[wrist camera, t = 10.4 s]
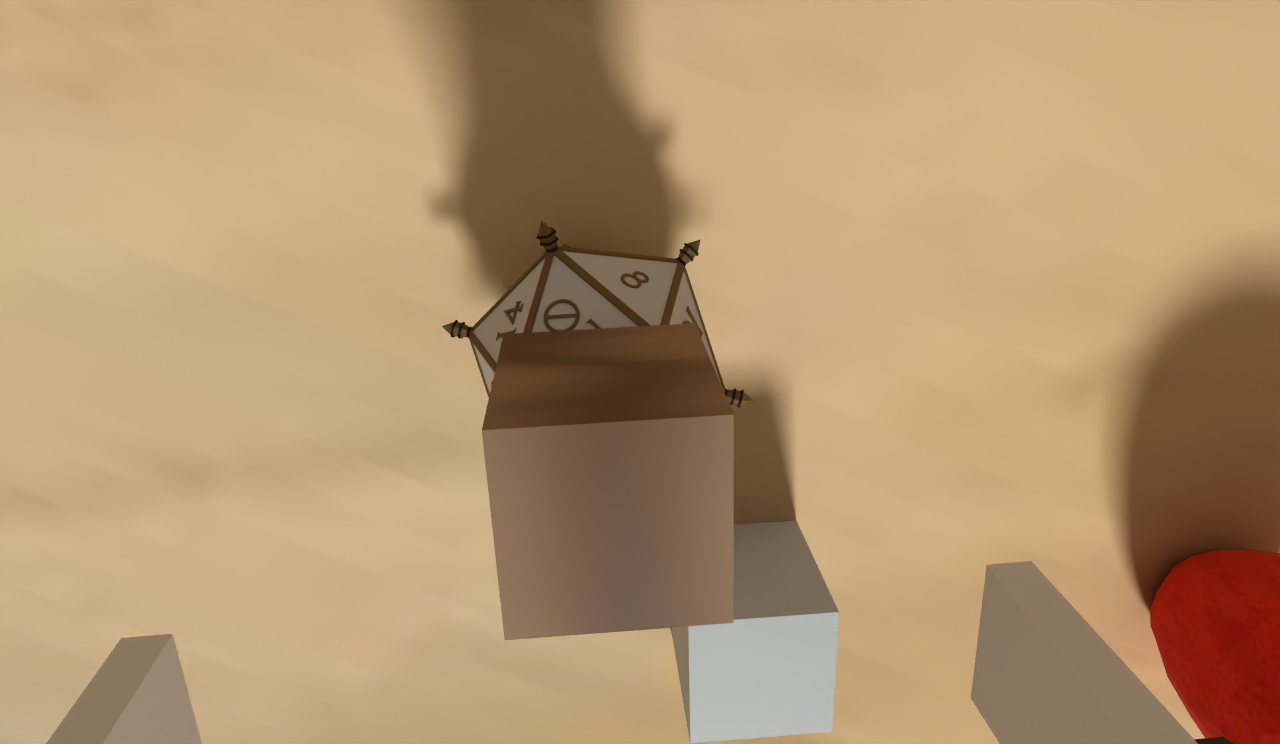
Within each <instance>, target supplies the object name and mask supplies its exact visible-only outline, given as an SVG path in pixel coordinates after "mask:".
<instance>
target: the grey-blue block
mask: <svg viewBox="0 0 1280 744" xmlns="http://www.w3.org/2000/svg"><path fill="white" fill-rule="evenodd" d="M838 619H839V611H838V609H837V607H836V605H835V603H834V601H833V598H832V596H831V594H830V592H829V590H828V588H827V586H826V583H825V581H824V579H823V577H822V575H821V573H820V570H819V568H818V566H817V564H816V562H815V560H814V558H813V555H812V553H811V551H810V549H809V547H808V545H807V542H806V540H805V538H804V536H803V534H802V532H801V530H800V527H799V525H798V523H797V521H796V520H794V521H780V522H765V523H750V524H735V525H734V592H733V623H726V624H712V625H699V626H686V627H672V638H673V644H674V649H675V655H676V661H677V667H678V673H679V679H680V685H681V691H682V697H683V703H684V709H685V714H686V720H687V726H688V732H689V738H690V743H699V742H712V741H724V740H737V739H749V738H761V737H774V736H786V735H798V734H811V733H823V732H832V728H833V709H834V691H835V673H836V655H837V637H838Z"/></svg>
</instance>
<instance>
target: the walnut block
mask: <svg viewBox="0 0 1280 744" xmlns="http://www.w3.org/2000/svg"><path fill="white" fill-rule="evenodd" d="M482 436H483V445H484V454H485V463H486V472H487V481H488V491H489V500H490V509H491V518H492V527H493V536H494V546H495V555H496V564H497V573H498V582H499V591H500V601H501V610H502V619H503V628H504V637H505V640H513V639H526V638H540V637H553V636H566V635H579V634H593V633H606V632H619V631H633V630H646V629H659V628H672V627H686V626H699V625H712V624H726V623H733V592H734V414H733V411H732V409H731V407H730V404H729V402H728V400H727V397H726V395H725V393H724V390H723V388H722V386H721V383H720V381H719V379H718V376H717V374H716V371H715V369H714V367H713V364H712V362H711V360H710V357H709V355H708V353H707V350H706V348H705V346H704V343H703V341H702V339H701V336H700V334H699V332H698V329H697V327H696V325H695V323H690V324H672V325H655V326H637V327H619V328H602V329H584V330H566V331H549V332H531V333H513V334H503V338H502V343H501V347H500V352H499V356H498V361H497V365H496V370H495V374H494V378H493V383H492V387H491V392H490V396H489V401H488V405H487V410H486V414H485V419H484V423H483V428H482Z"/></svg>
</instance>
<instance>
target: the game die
mask: <svg viewBox="0 0 1280 744" xmlns="http://www.w3.org/2000/svg"><path fill="white" fill-rule="evenodd" d="M555 233H556V231H555V230H554V229H553V228H552V227H551V228H550V227H548V226H547V225H546V224H545V223H544V222H542V221H541V225H540V230H539V234H538V235H537V239H540V241H541V243H540V245H541V246H544V248H545V249H546V252H545V253H544V254H543V255H542V256H541V257H540V258H539V259H538V260H537V261H536V262H535V263H534V264H533V265H532V266H531V267H530V268H529V269H528V271H527V272H526V273H525V274H524V275H523V276H522V277H521V278H520V279H519V280H518V281H517V282H516V283H515V284H514V285H513V286H512V287H511V288H510V289H509V290H508V291H507V292H506V293H505V294H504V295H503V296H502V297H501V298H500V299H499V300H498V301H497V302H496V304H495V305H494V306H493V307H492V308H491V309H490V310H489V311H488V312H487V313H486V314H485V315H484V316H483V317H482V318H481V319H480V320H479V321H478V322H477V323H476V324H475V325H474V326H473V327H468V326H467V325H465V322H463V323H459V322H458V320H456V321H455V322H453V323H450V324H447V325H444V326H442V327H443V328H444V329H445V330H446V331H447V332H448V333H449V334H451V337H455V336H458V338H463V337H468V338H469V339H470V342H471V345H472V348H473V351H474V354H475V357H476V361H477V364H478V367H479V370H480V373H481V376H482V379H483V382H484V385H485V388H486V391H487V394H488V397H489V396H490V392H491V387H492V383H493V378H494V374H495V370H496V365H497V361H498V356H499V352H500V347H501V343H502V338H503V334H513V333H531V332H549V331H566V330H584V329H602V328H619V327H637V326H655V325H672V324H690V323H695V325H696V327H697V329H698V332H699V334H700V336H701V339H702V341H703V343H704V346H705V348H706V350H707V353H708V355H709V357H710V360H711V362H712V364H713V367H714V369H715V371H716V374H717V376H718V379H719V381H720V383H721V386H722V388H723V390H724V393H725V395H726V397H727V400H728V402H730V405H732V404H735V405H738V407H740V405H743V404H746V403H749V402H752V401H753V400H752V399H751V398H750V397H749V396H747V395H746V394H745V393H744V390H741V391H737V390H736V389H734V390H727V389H725V387H724V384H723V381H722V378H721V375H720V372H719V368H718V365H717V362H716V359H715V356H714V353H713V350H712V347H711V344H710V341H709V338H708V335H707V332H706V329H705V326H704V323H703V320H702V317H701V314H700V310H699V307H698V304H697V301H696V298H695V295H694V292H693V289H692V286H691V283H690V280H689V277H688V274H687V271H686V268H685V265H686V264H687V263H688V262H690V261H693V258H694V257H695V256H698V254H699V253H698V248H699V243H700V240H698V241H694V242H691V243H688V244H686V243H684V245H685V246H684V248H683V249H682V250H681V249H680V250H679V251H680V254H679V257H678V258H676V259H672V258H663V257H653V256H643V255H634V254H624V253H615V252H605V251H595V250H586V249H576V248H571V247H567V246H566V245H565V244H564V246H563V247H558V246H557V240H558V238H557V237H556V236H555Z"/></svg>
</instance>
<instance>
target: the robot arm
mask: <svg viewBox="0 0 1280 744" xmlns="http://www.w3.org/2000/svg"><path fill="white" fill-rule="evenodd" d="M971 699H972V701H973V702H974V704H975V705H976V707H977V708H978V710H979V712H980V713H981V715H982V716H983V718H984V719H985V721H986V723H987V724H988V726H989V727H990V729H991V731H992V732H993V734H994V735H995V737H996V738H997V740H998V742H999V743H1000V744H1234V743H1233V742H1231V741H1230V740H1228V739H1226V738H1225V737H1214V738H1204V739H1195V740H1194V739H1193V738H1192V737H1191V736H1190V734H1189V733H1188V732H1187V731H1186V730H1185V729H1184V728H1183V727H1182V726H1181V725H1180V724H1179V722H1178V721H1177V720H1176V719H1175V718H1174V717H1173V716H1172V715H1171V714H1170V713H1169V712H1168V710H1167V709H1166V708H1165V707H1164V706H1163V705H1162V704H1161V703H1160V702H1159V701H1158V699H1157V698H1156V697H1155V696H1154V695H1153V694H1152V693H1151V692H1150V691H1149V690H1148V689H1147V687H1146V686H1145V685H1144V684H1143V683H1142V682H1141V681H1140V680H1139V679H1138V678H1137V676H1136V675H1135V674H1134V673H1133V672H1132V671H1131V670H1130V669H1129V668H1128V667H1127V666H1126V664H1125V663H1124V662H1123V661H1122V660H1121V659H1120V658H1119V657H1118V656H1117V655H1116V654H1115V652H1114V651H1113V650H1112V649H1111V648H1110V647H1109V646H1108V645H1107V644H1106V643H1105V641H1104V640H1103V639H1102V638H1101V637H1100V636H1099V635H1098V634H1097V633H1096V632H1095V631H1094V629H1093V628H1092V627H1091V626H1090V625H1089V624H1088V623H1087V622H1086V621H1085V620H1084V619H1083V617H1082V616H1081V615H1080V614H1079V613H1078V612H1077V611H1076V610H1075V609H1074V608H1073V606H1072V605H1071V604H1070V603H1069V602H1068V601H1067V600H1066V599H1065V598H1064V597H1063V596H1062V594H1061V593H1060V592H1059V591H1058V590H1057V589H1056V588H1055V587H1054V586H1053V585H1052V584H1051V582H1050V581H1049V580H1048V579H1047V578H1046V577H1045V576H1044V575H1043V574H1042V573H1041V571H1040V570H1039V569H1038V568H1037V567H1036V566H1035V565H1034V564H1033V563H1032V562H1031V561H1027V562H1015V563H1004V564H992V565H987V568H986V576H985V584H984V593H983V601H982V609H981V618H980V626H979V634H978V643H977V651H976V659H975V668H974V676H973V685H972V693H971ZM46 744H202V743H201V739H200V735H199V731H198V728H197V724H196V720H195V716H194V713H193V709H192V705H191V701H190V698H189V694H188V690H187V686H186V683H185V679H184V675H183V671H182V668H181V664H180V660H179V656H178V653H177V649H176V645H175V641H174V638H173V634H165V635H153V636H142V637H130V638H121V640H120V641H119V642H118V644H117V645H116V647H115V648H114V649H113V651H112V652H111V654H110V655H109V656H108V658H107V659H106V661H105V662H104V663H103V665H102V666H101V668H100V669H99V670H98V672H97V673H96V675H95V676H94V677H93V679H92V680H91V682H90V683H89V684H88V686H87V687H86V689H85V690H84V691H83V693H82V694H81V696H80V697H79V698H78V700H77V701H76V703H75V704H74V705H73V707H72V708H71V710H70V711H69V712H68V714H67V715H66V717H65V718H64V719H63V721H62V722H61V724H60V725H59V726H58V728H57V729H56V731H55V732H54V733H53V735H52V736H51V738H50V739H49V740H48V742H47V743H46Z"/></svg>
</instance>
